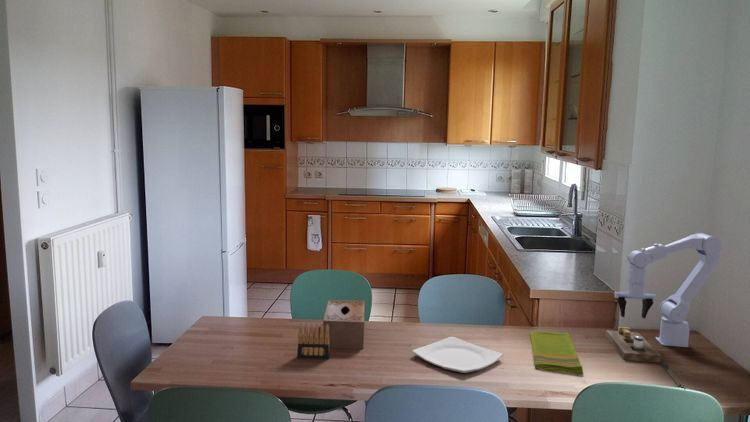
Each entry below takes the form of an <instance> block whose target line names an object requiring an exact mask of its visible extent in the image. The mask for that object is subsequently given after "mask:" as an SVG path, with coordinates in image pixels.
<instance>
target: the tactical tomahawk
mask: <svg viewBox="0 0 750 422" xmlns="http://www.w3.org/2000/svg"><path fill="white" fill-rule="evenodd" d="M662 366H663V369H664V370H665V372H666V373H667V375H668V376H669V377H670V378H671V380H673V383H675V384H676V387H681V388H685V386H684V385H682V383H681V382H680V381H679V380H678V378H677V377H676V375H675V374H674V373H673V371H672V370H671V369H670V365H669V364H668V363H666V362H662Z"/></svg>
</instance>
